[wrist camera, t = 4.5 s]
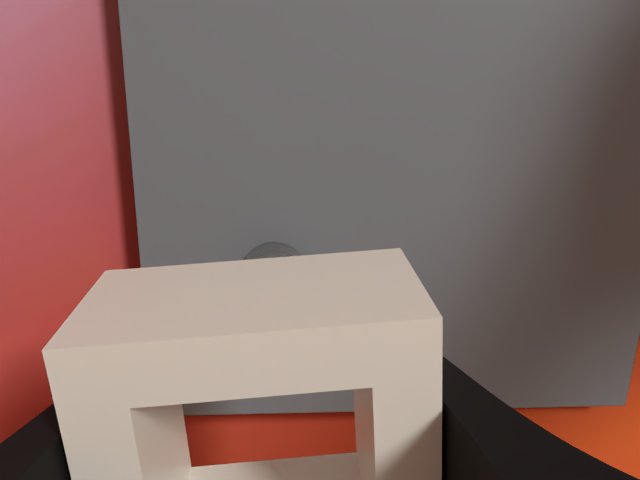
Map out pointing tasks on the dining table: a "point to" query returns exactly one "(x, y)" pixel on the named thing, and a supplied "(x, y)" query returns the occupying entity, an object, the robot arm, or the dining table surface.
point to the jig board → (409, 166)
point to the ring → (250, 363)
